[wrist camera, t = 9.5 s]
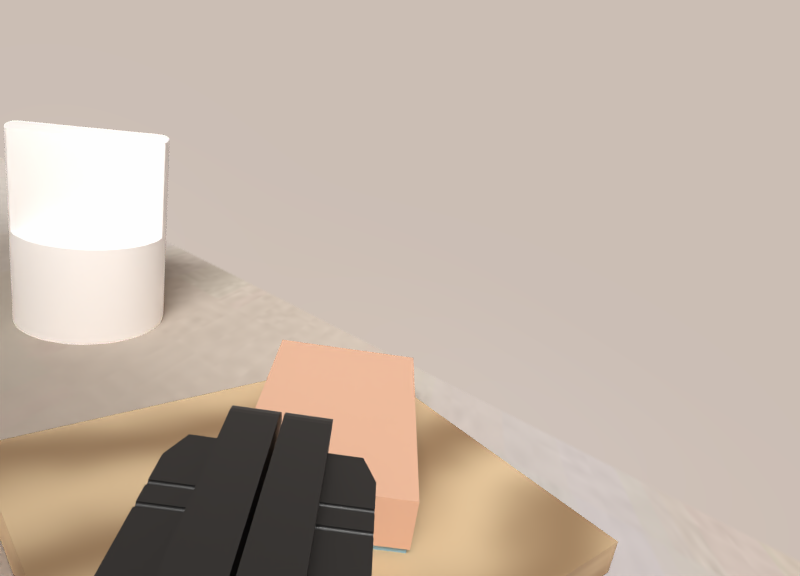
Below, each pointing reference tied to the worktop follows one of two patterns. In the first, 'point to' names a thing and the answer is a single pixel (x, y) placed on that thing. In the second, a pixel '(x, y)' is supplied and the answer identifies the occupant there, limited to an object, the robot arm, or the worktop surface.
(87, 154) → the base with upright slab
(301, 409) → the tile
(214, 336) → the worktop surface
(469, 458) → the board
